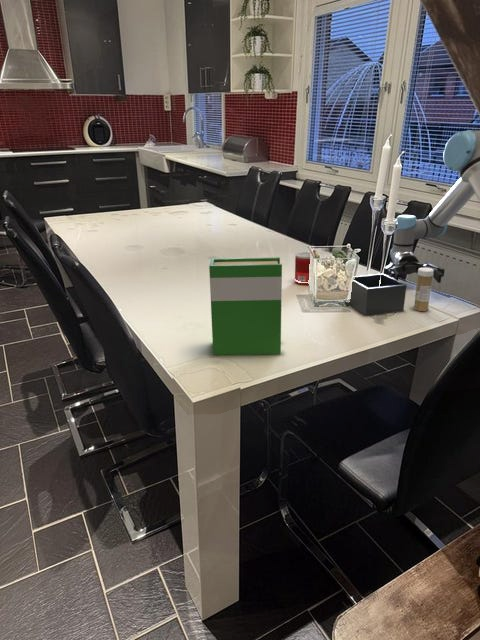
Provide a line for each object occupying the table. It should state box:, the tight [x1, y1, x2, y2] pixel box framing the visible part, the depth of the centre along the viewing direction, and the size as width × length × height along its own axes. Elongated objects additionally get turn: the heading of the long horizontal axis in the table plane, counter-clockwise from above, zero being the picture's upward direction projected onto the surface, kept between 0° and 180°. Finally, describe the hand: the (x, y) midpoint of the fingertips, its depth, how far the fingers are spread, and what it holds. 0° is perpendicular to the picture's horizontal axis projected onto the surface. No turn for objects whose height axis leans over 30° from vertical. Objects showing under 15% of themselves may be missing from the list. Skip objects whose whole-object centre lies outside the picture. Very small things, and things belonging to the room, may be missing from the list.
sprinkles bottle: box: [413, 268, 434, 312], centre depth 148 cm, size 5×5×14 cm
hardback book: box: [208, 256, 283, 356], centre depth 121 cm, size 18×7×24 cm, turn 90°
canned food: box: [294, 251, 311, 286], centre depth 178 cm, size 8×8×11 cm
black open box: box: [347, 273, 408, 317], centre depth 152 cm, size 14×14×9 cm
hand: (418, 278), depth 155 cm, fingers open, 13 cm apart
